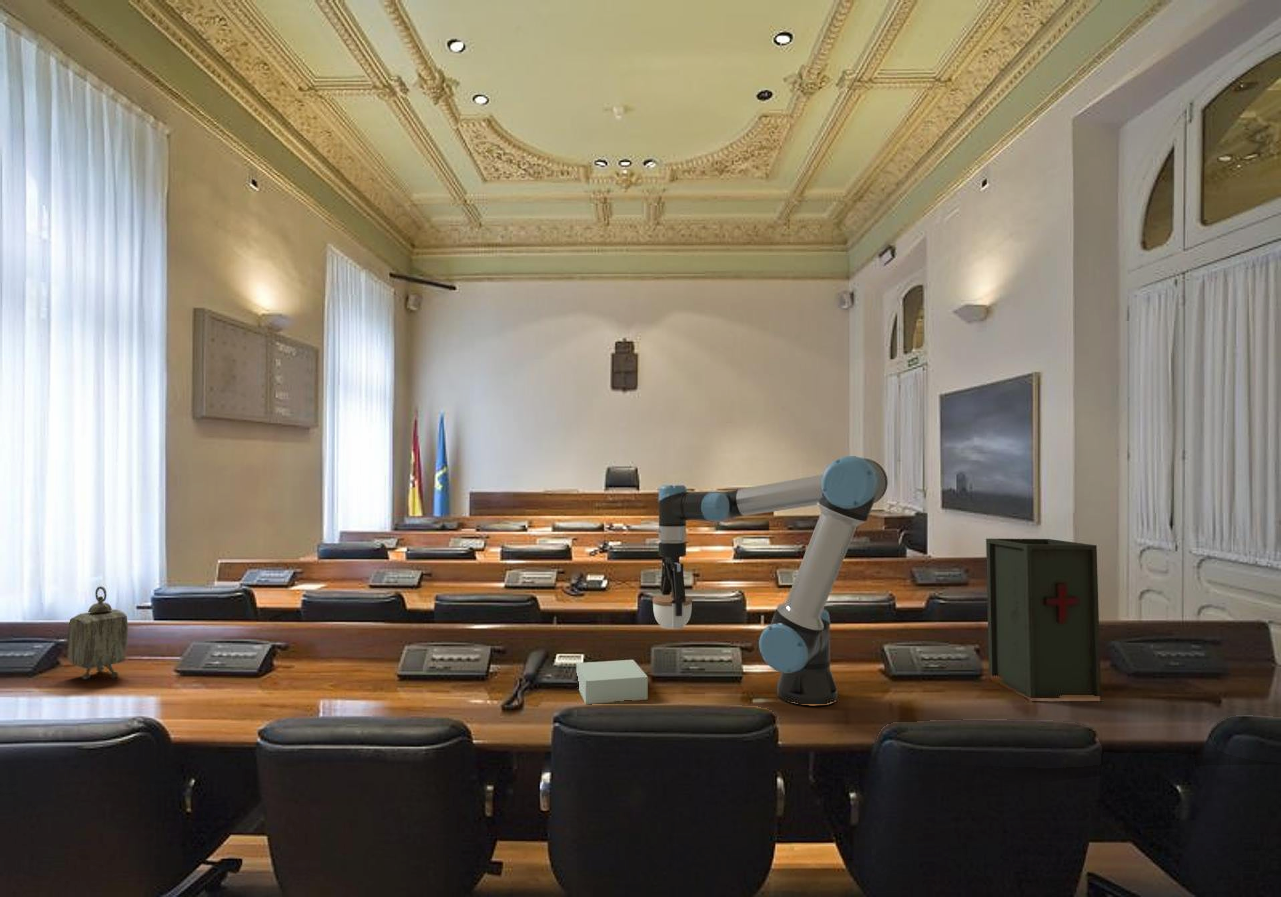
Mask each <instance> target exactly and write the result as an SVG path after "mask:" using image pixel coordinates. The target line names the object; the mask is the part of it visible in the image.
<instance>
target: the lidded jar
mask: <svg viewBox="0 0 1281 897" xmlns="http://www.w3.org/2000/svg"><path fill="white" fill-rule="evenodd" d="M685 598H686V602H684V603H683V628H676V629H673V620H672V604H671V601H672V600H673V593H672V592H670V595H662V594H661V595H657V596H654V597H652V608H653V609H652V610H653V615H654V618H655V620H656V622H657V623H658V625H660V628H662V629H664V630H669V631H670V630H673V631H674V630H676V631H677V630H682V629H684V626H686V625H687V623H688V622H689V620H690V619H691V615H692V608H693V607H692V606H693V605H692V603H693V598H692V597H691V596H688V595H685Z"/></svg>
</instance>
